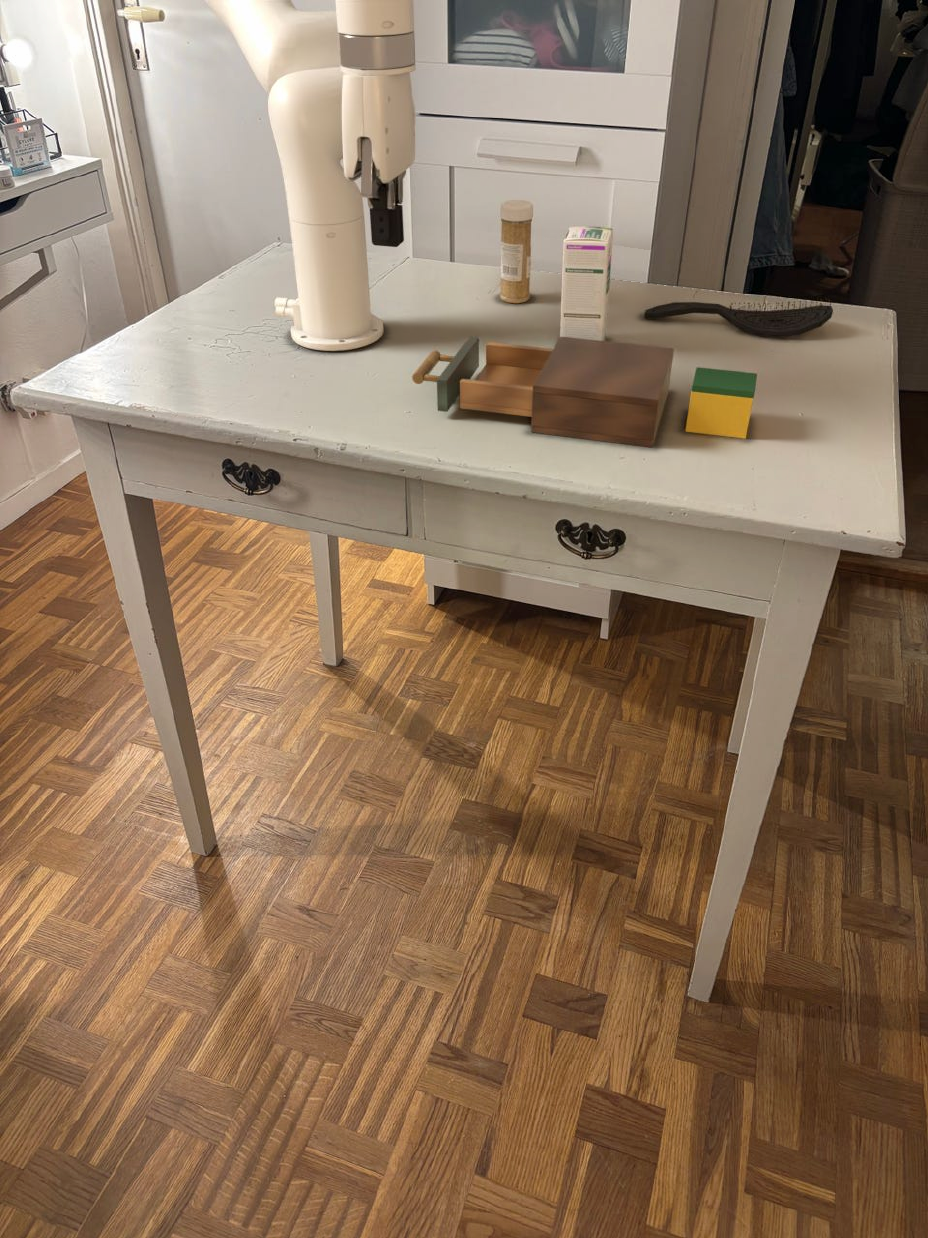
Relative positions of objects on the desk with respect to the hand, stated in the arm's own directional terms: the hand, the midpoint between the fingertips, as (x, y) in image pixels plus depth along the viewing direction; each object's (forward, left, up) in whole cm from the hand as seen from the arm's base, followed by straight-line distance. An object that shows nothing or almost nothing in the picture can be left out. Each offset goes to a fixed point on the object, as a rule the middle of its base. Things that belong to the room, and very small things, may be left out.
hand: (388, 243), depth 105 cm
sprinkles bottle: (+6, +34, -17) cm, 39 cm away
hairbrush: (+38, +32, -17) cm, 53 cm away
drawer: (+12, 0, -16) cm, 20 cm away
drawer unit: (+25, 0, -17) cm, 31 cm away
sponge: (+39, 0, -17) cm, 42 cm away
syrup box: (+19, +19, -17) cm, 32 cm away
